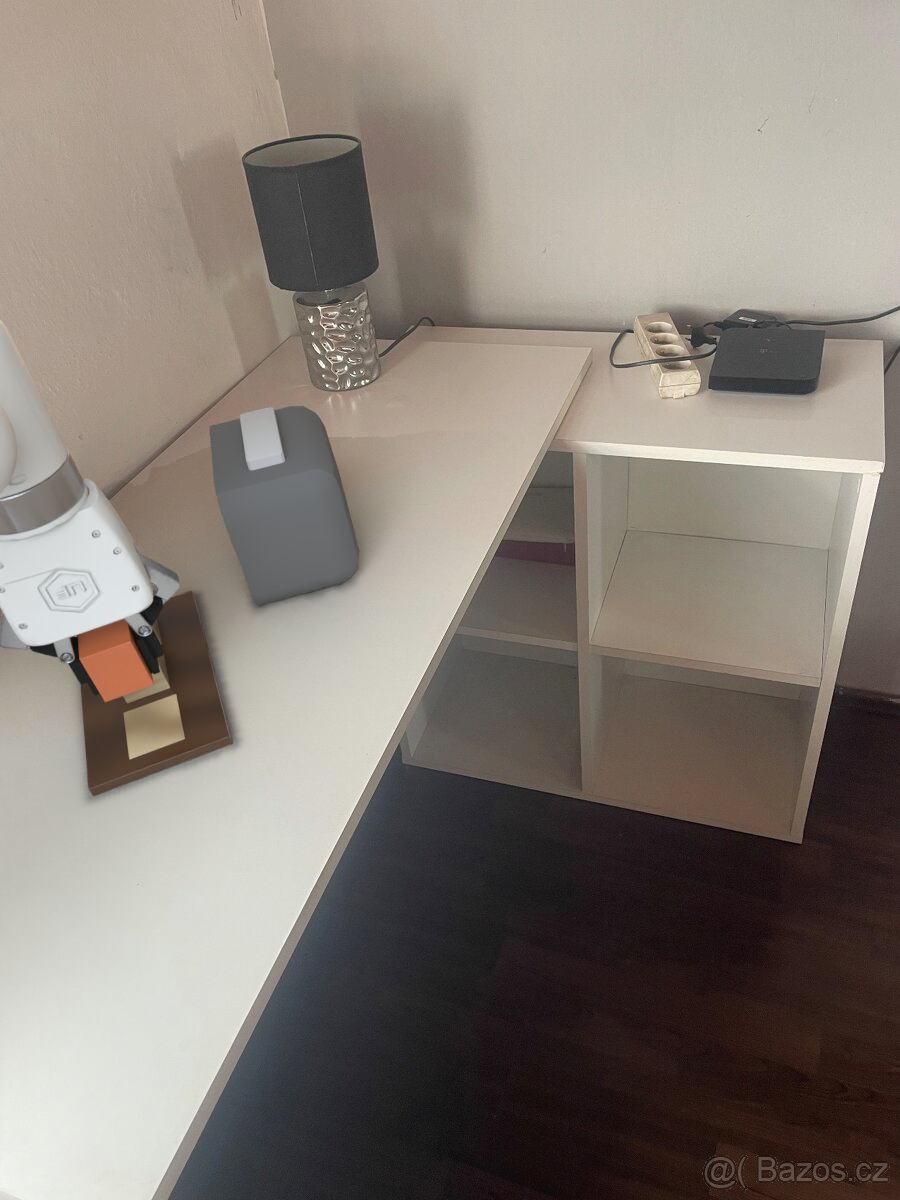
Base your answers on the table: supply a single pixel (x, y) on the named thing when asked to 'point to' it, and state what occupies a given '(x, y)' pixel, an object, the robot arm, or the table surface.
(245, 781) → the table surface
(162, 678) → the cream wooden block
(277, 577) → the alarm clock
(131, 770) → the word board
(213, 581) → the table surface
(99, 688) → the terracotta orange cube
